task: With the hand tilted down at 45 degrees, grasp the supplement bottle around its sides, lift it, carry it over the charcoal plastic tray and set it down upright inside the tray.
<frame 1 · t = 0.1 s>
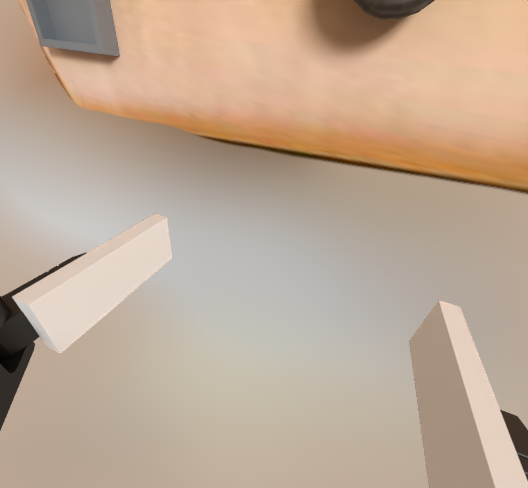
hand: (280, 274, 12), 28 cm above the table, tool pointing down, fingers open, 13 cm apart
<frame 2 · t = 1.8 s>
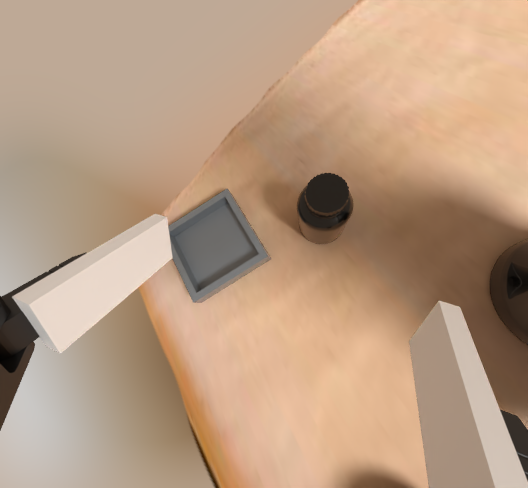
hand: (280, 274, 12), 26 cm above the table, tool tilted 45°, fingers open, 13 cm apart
tray: (217, 246, 41), on the table
supplement bottle: (321, 224, 39), on the table
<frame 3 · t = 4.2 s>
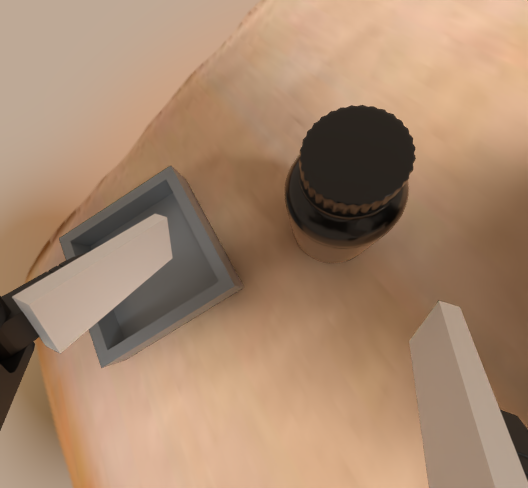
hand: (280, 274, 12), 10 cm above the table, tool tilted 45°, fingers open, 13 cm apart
tray: (157, 264, 24), on the table
supplement bottle: (331, 227, 22), on the table
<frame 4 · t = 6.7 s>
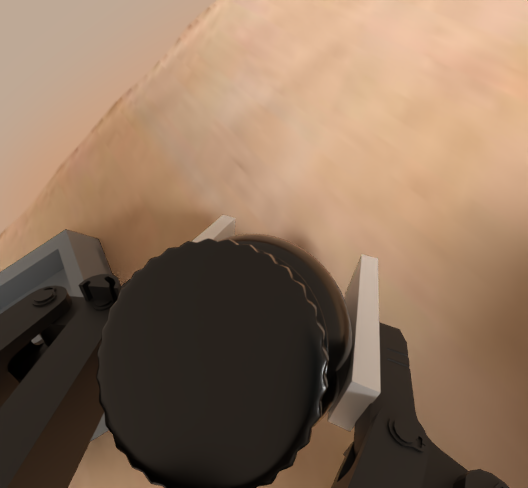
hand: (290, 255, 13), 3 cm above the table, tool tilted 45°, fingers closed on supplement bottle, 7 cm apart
tray: (54, 355, 18), on the table
supplement bottle: (277, 315, 16), on the table, touching gripper
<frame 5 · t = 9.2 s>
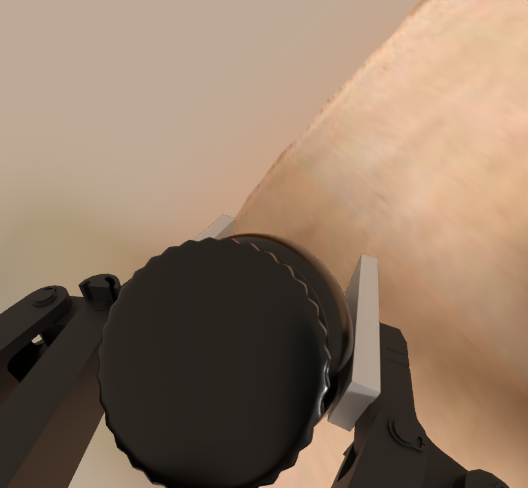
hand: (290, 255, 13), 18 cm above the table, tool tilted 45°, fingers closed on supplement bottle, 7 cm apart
supplement bottle: (278, 315, 16), point 14 cm above the table, touching gripper
when the fingers open (5 cm above the table, at t = 11.9 s): supplement bottle drops 1 cm, resting on tray.
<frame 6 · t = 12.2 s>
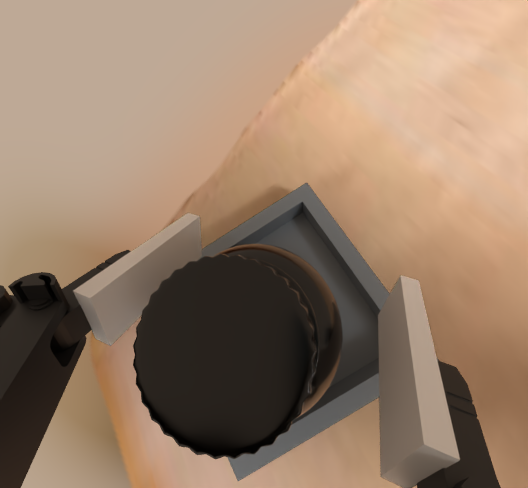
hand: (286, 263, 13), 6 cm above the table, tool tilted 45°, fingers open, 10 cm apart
tray: (280, 313, 18), on the table
supplement bottle: (279, 314, 18), resting on tray
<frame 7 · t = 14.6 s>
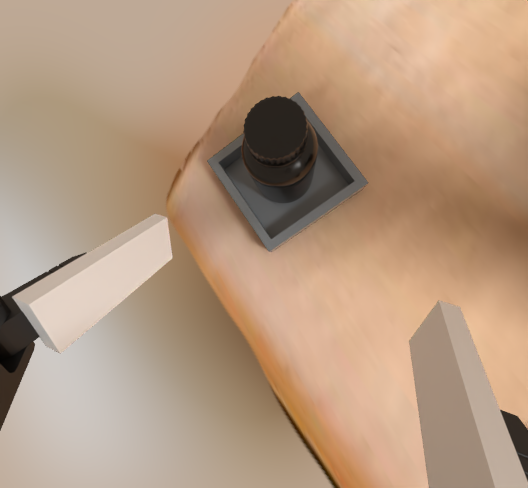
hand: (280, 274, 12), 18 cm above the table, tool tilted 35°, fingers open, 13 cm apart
tray: (285, 178, 30), on the table
supplement bottle: (284, 177, 30), resting on tray
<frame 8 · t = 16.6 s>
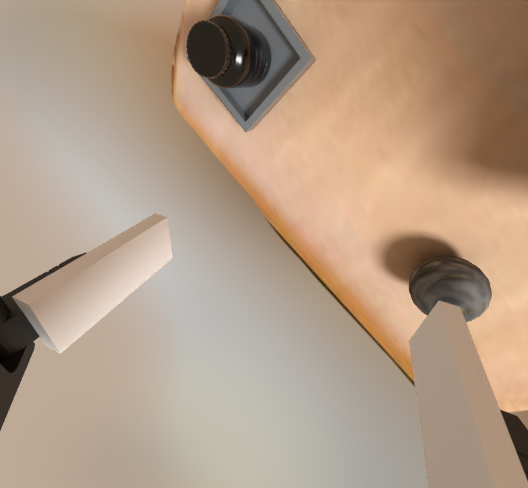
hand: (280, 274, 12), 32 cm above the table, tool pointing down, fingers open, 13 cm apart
decorative stone: (439, 268, 41), on the table
tray: (252, 59, 35), on the table
supplement bottle: (251, 59, 35), resting on tray
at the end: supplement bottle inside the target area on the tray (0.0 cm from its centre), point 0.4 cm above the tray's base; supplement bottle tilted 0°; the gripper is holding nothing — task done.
